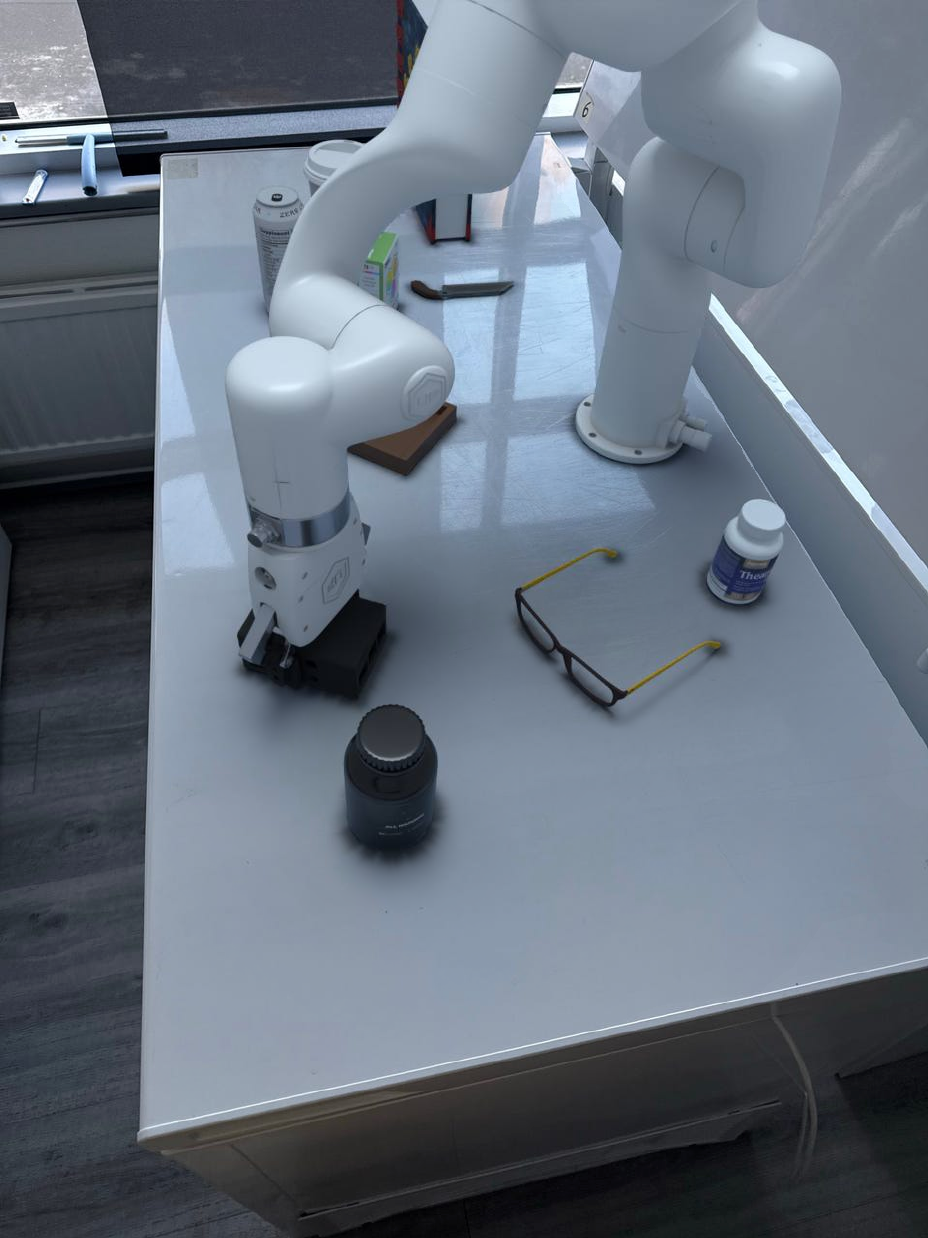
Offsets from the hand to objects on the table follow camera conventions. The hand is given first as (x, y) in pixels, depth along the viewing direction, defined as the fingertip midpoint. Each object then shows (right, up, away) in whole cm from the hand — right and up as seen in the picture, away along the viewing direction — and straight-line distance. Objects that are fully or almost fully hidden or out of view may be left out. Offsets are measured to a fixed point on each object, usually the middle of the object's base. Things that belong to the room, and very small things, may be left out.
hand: (315, 645), depth 79 cm
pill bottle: (+40, +6, +9) cm, 41 cm away
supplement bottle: (+7, -13, -8) cm, 17 cm away
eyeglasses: (+27, +1, +4) cm, 27 cm away
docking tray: (+3, +24, +22) cm, 33 cm away
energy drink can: (-9, +41, +35) cm, 55 cm away
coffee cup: (-3, +50, +42) cm, 66 cm away
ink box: (+2, +41, +35) cm, 54 cm away
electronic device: (0, -1, +1) cm, 1 cm away
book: (+8, +65, +56) cm, 86 cm away
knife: (+13, +46, +40) cm, 63 cm away
